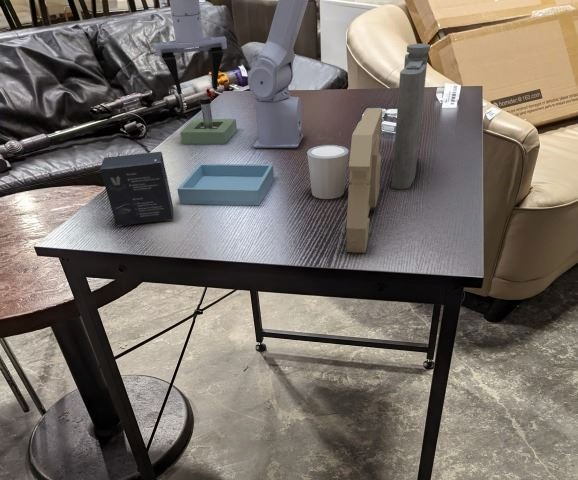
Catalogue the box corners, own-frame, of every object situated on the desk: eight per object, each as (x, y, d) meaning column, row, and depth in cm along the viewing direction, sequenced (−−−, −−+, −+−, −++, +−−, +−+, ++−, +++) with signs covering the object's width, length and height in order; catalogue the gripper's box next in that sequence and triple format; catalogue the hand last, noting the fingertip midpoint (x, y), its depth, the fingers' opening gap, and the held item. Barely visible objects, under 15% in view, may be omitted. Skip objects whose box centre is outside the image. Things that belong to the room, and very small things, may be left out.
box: (174, 207, 90) (162, 150, 84) (173, 221, 86) (161, 161, 80) (119, 214, 89) (103, 156, 83) (116, 227, 85) (99, 168, 79)
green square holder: (237, 130, 122) (235, 118, 120) (225, 144, 115) (223, 132, 113) (196, 130, 124) (194, 118, 122) (182, 144, 116) (180, 132, 115)
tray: (274, 178, 98) (273, 164, 96) (259, 205, 89) (257, 190, 87) (201, 177, 100) (199, 163, 98) (179, 203, 91) (177, 188, 89)
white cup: (308, 186, 94) (307, 145, 89) (346, 184, 94) (347, 143, 89) (308, 201, 89) (306, 158, 84) (348, 199, 88) (349, 156, 84)
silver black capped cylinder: (221, 134, 120) (216, 95, 115) (216, 140, 117) (211, 100, 112) (204, 134, 121) (198, 95, 116) (198, 140, 118) (192, 100, 113)
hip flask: (397, 157, 102) (407, 36, 89) (418, 158, 102) (431, 35, 88) (390, 189, 91) (401, 54, 78) (414, 189, 90) (429, 54, 77)
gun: (366, 257, 73) (373, 140, 64) (343, 256, 73) (346, 140, 65) (379, 202, 92) (385, 106, 83) (360, 201, 93) (364, 106, 84)
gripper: (218, 8, 108) (226, 83, 117) (147, 15, 105) (161, 91, 114) (225, 12, 103) (233, 90, 112) (150, 19, 100) (165, 98, 109)
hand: (197, 91), depth 113 cm, fingers open, 7 cm apart
